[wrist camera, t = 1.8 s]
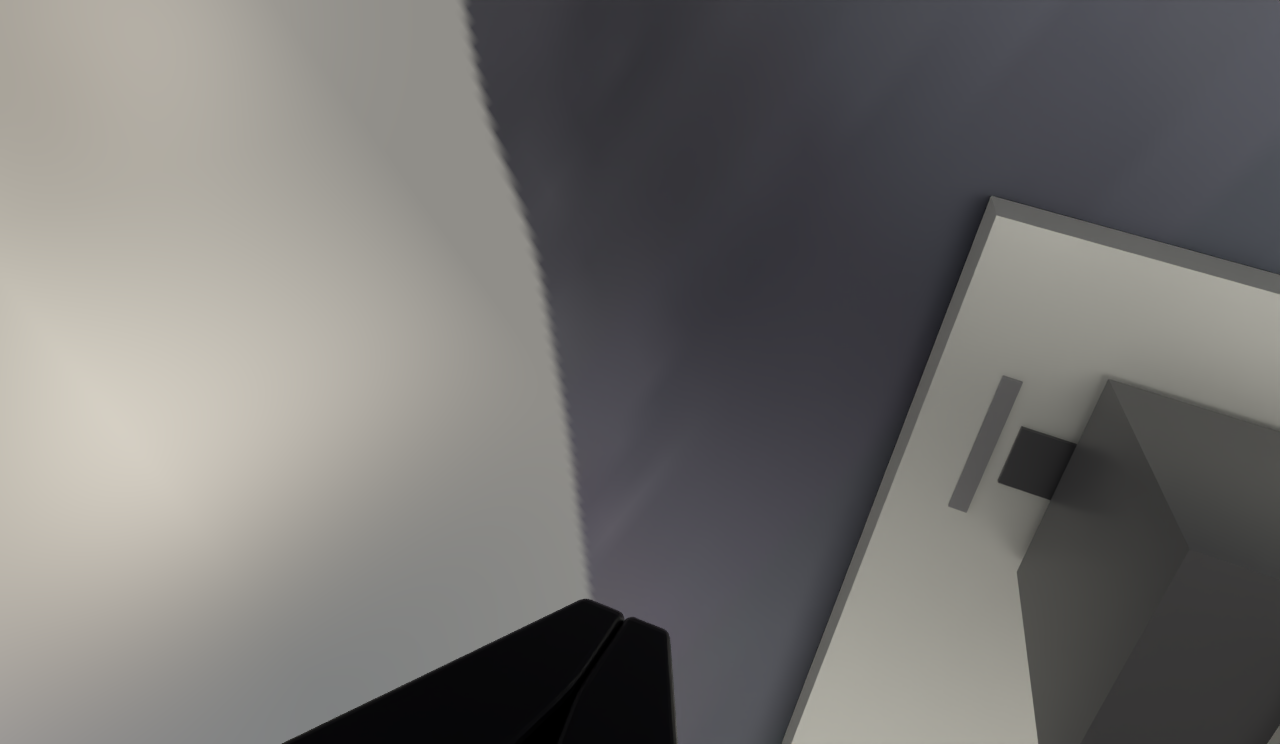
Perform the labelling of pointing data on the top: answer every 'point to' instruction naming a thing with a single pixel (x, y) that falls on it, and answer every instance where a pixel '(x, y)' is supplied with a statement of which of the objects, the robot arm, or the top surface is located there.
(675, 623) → the top surface
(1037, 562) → the black fader
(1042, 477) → the console
